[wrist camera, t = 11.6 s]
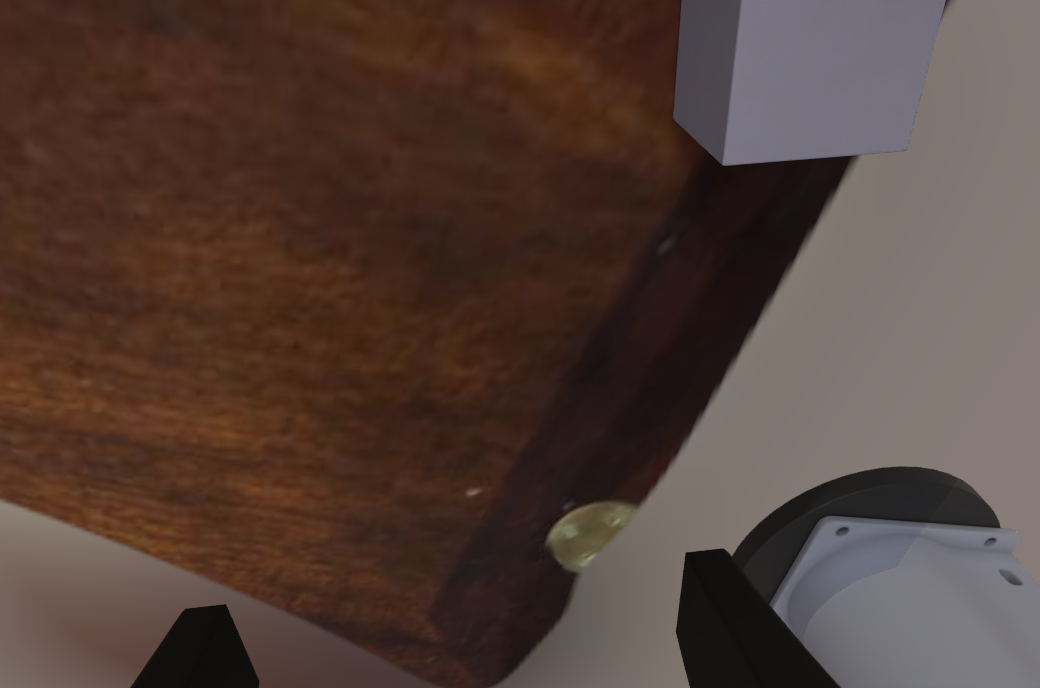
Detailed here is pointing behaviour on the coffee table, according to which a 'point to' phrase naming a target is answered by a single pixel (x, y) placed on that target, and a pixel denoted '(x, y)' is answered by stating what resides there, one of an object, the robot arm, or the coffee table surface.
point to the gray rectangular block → (802, 76)
